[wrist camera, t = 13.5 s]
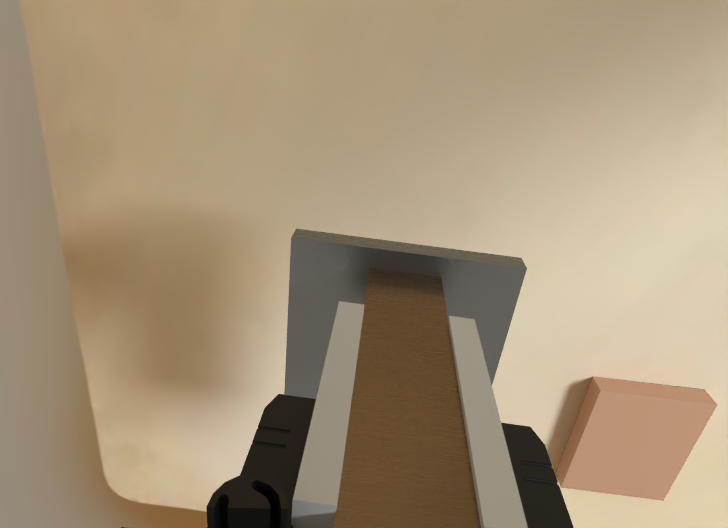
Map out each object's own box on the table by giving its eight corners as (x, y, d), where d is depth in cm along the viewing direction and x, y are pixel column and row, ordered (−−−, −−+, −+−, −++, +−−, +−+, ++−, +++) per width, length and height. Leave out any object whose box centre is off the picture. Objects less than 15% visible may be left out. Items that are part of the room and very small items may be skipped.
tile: (600, 390, 33) (561, 487, 37) (717, 404, 32) (663, 500, 37) (590, 372, 34) (554, 466, 39) (701, 385, 34) (651, 478, 39)
